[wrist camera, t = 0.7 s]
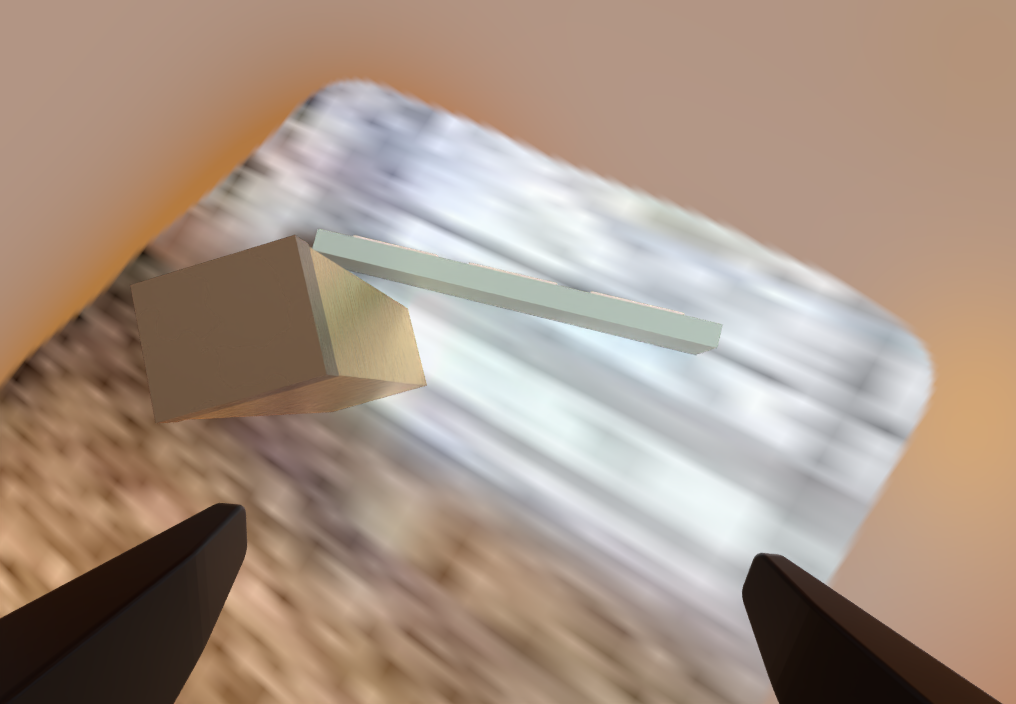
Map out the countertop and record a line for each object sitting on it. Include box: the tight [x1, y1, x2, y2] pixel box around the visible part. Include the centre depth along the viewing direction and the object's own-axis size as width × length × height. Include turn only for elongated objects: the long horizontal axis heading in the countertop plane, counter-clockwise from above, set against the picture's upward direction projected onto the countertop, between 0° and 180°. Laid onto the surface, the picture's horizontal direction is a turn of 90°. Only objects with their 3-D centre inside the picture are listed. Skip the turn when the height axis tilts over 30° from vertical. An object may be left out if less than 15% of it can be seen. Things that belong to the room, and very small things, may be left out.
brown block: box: [130, 235, 427, 423], centre depth 20 cm, size 5×4×11 cm
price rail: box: [312, 229, 723, 355], centre depth 23 cm, size 18×1×3 cm, turn 75°
